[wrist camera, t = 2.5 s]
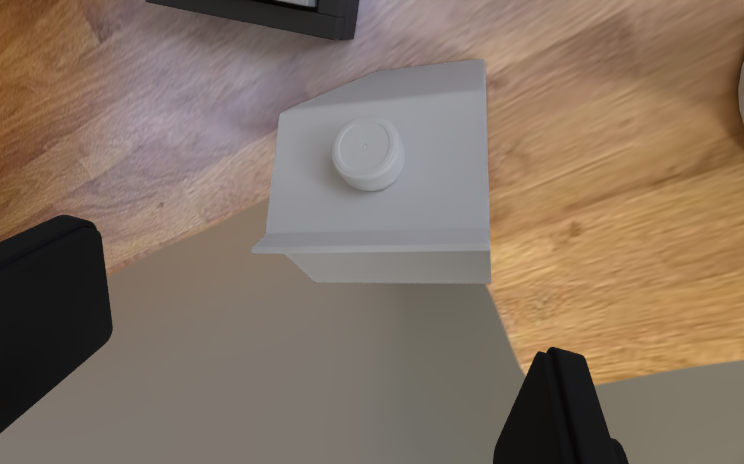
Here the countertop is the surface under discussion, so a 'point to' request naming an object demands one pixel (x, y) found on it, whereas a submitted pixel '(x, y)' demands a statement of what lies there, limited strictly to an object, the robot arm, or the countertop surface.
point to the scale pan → (302, 2)
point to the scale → (281, 14)
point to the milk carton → (386, 179)
